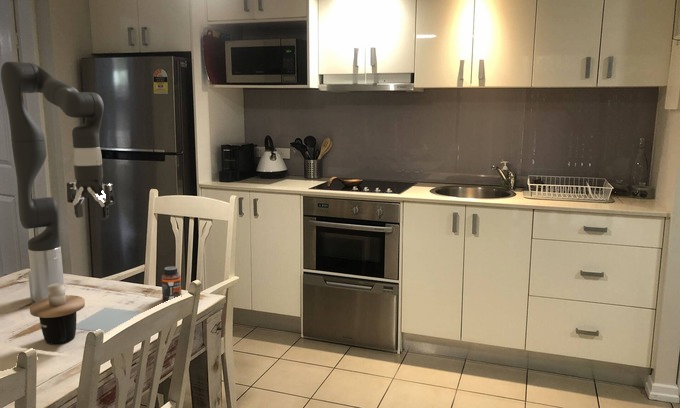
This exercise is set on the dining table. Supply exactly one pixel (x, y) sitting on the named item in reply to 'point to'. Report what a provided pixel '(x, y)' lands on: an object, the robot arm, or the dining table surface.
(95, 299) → the dining table surface
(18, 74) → the robot arm
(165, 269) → the supplement bottle
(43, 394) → the dining table surface
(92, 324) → the mat
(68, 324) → the mug
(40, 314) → the lid
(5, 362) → the dining table surface
